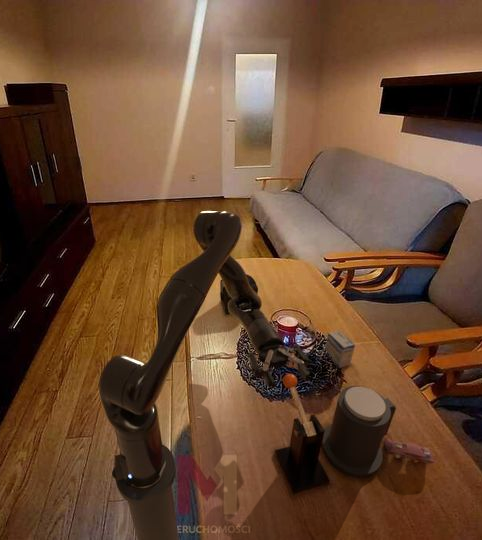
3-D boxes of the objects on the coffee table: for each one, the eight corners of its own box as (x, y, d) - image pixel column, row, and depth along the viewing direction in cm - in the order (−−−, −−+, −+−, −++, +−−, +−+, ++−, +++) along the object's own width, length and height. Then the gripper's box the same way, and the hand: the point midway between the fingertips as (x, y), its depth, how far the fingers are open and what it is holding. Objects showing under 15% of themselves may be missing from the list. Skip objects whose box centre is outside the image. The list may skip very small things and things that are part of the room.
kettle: (341, 485, 79) (356, 435, 70) (311, 431, 91) (320, 383, 82) (398, 468, 82) (419, 419, 73) (362, 419, 94) (376, 371, 85)
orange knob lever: (279, 377, 84) (282, 373, 81) (292, 375, 85) (296, 370, 82) (301, 440, 76) (305, 437, 73) (315, 436, 77) (320, 433, 74)
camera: (218, 300, 144) (217, 269, 137) (250, 296, 146) (251, 265, 139) (223, 316, 135) (223, 283, 128) (258, 311, 137) (260, 279, 130)
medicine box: (323, 352, 116) (327, 332, 112) (334, 349, 118) (338, 329, 113) (339, 369, 110) (343, 348, 106) (350, 365, 111) (355, 344, 107)
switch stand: (274, 452, 86) (280, 410, 78) (308, 444, 88) (316, 402, 80) (292, 494, 78) (300, 451, 70) (329, 483, 80) (340, 440, 72)
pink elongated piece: (383, 457, 86) (391, 454, 80) (383, 438, 88) (390, 433, 83) (428, 469, 83) (439, 466, 78) (426, 448, 86) (437, 444, 80)
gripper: (240, 332, 92) (263, 376, 79) (289, 323, 95) (320, 364, 81) (239, 353, 96) (261, 399, 82) (287, 344, 99) (315, 387, 85)
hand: (290, 382), depth 82 cm, fingers open, 8 cm apart
